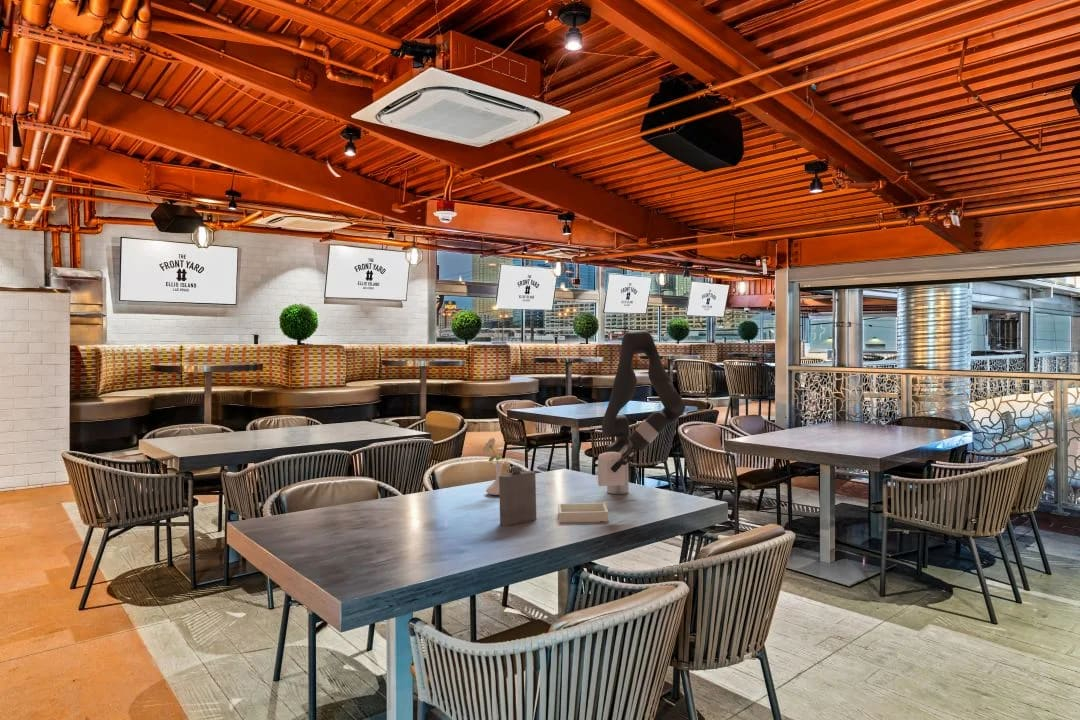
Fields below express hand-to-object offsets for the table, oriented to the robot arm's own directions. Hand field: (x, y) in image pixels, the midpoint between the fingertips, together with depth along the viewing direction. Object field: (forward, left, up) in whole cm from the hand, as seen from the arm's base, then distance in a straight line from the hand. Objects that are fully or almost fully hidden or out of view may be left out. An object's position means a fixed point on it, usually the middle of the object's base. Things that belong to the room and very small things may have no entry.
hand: (611, 469), depth 243 cm
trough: (0, -11, -18) cm, 21 cm away
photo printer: (0, 0, -6) cm, 6 cm away
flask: (+4, -35, -18) cm, 40 cm away
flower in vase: (-41, -45, -18) cm, 63 cm away
